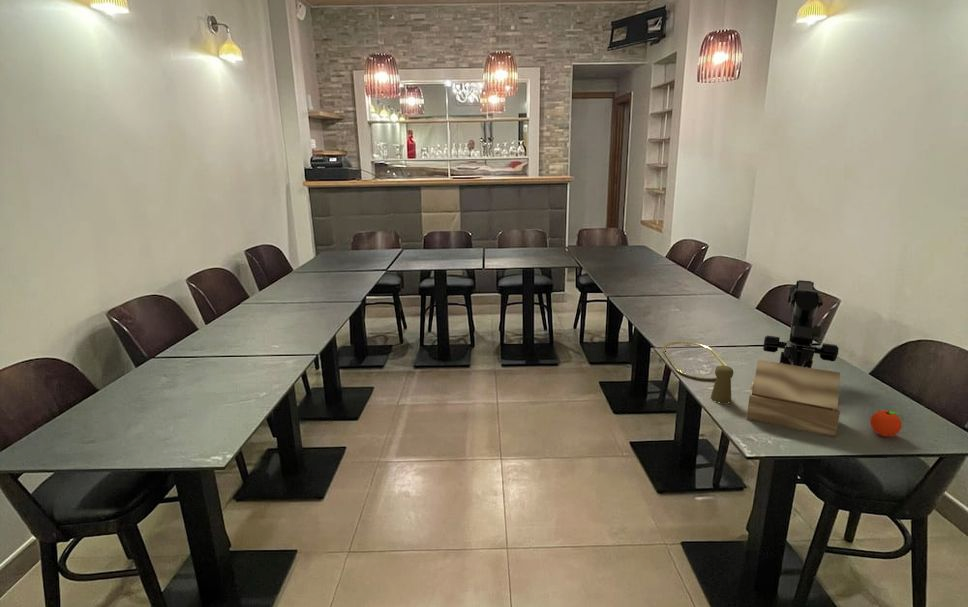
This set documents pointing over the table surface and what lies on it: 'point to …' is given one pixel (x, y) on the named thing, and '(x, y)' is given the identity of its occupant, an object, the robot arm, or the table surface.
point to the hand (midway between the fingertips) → (796, 374)
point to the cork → (722, 384)
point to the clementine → (886, 423)
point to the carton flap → (797, 384)
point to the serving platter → (698, 345)
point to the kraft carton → (793, 414)
